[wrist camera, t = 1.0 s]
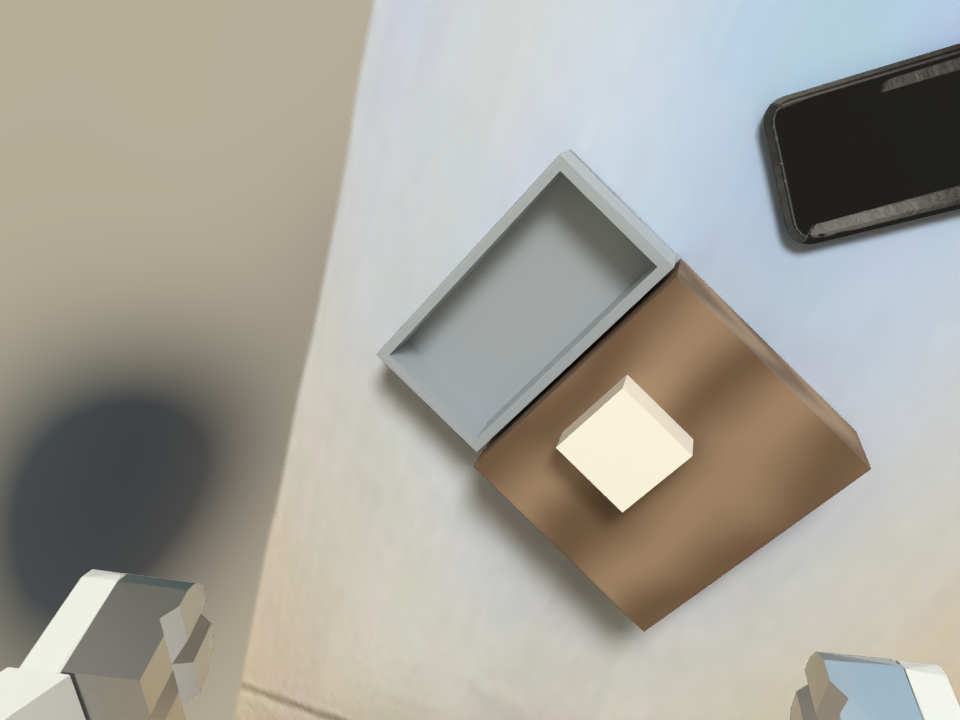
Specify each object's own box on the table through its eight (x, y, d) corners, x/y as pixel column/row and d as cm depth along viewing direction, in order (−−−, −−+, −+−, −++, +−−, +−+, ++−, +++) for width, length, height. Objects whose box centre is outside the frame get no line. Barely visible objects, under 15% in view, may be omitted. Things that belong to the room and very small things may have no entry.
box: (677, 254, 47) (674, 267, 44) (491, 430, 53) (476, 452, 50) (570, 149, 47) (560, 154, 44) (396, 338, 53) (376, 354, 50)
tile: (693, 439, 45) (692, 456, 43) (626, 494, 47) (622, 512, 45) (627, 374, 45) (622, 388, 43) (562, 432, 47) (555, 447, 45)
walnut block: (856, 431, 47) (871, 468, 43) (650, 585, 54) (644, 631, 49) (680, 258, 47) (676, 277, 42) (494, 433, 53) (473, 466, 49)
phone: (1121, 169, 40) (791, 249, 45) (1111, 167, 41) (789, 245, 46) (1100, -2, 38) (759, 101, 43) (1090, 1, 39) (758, 101, 44)
